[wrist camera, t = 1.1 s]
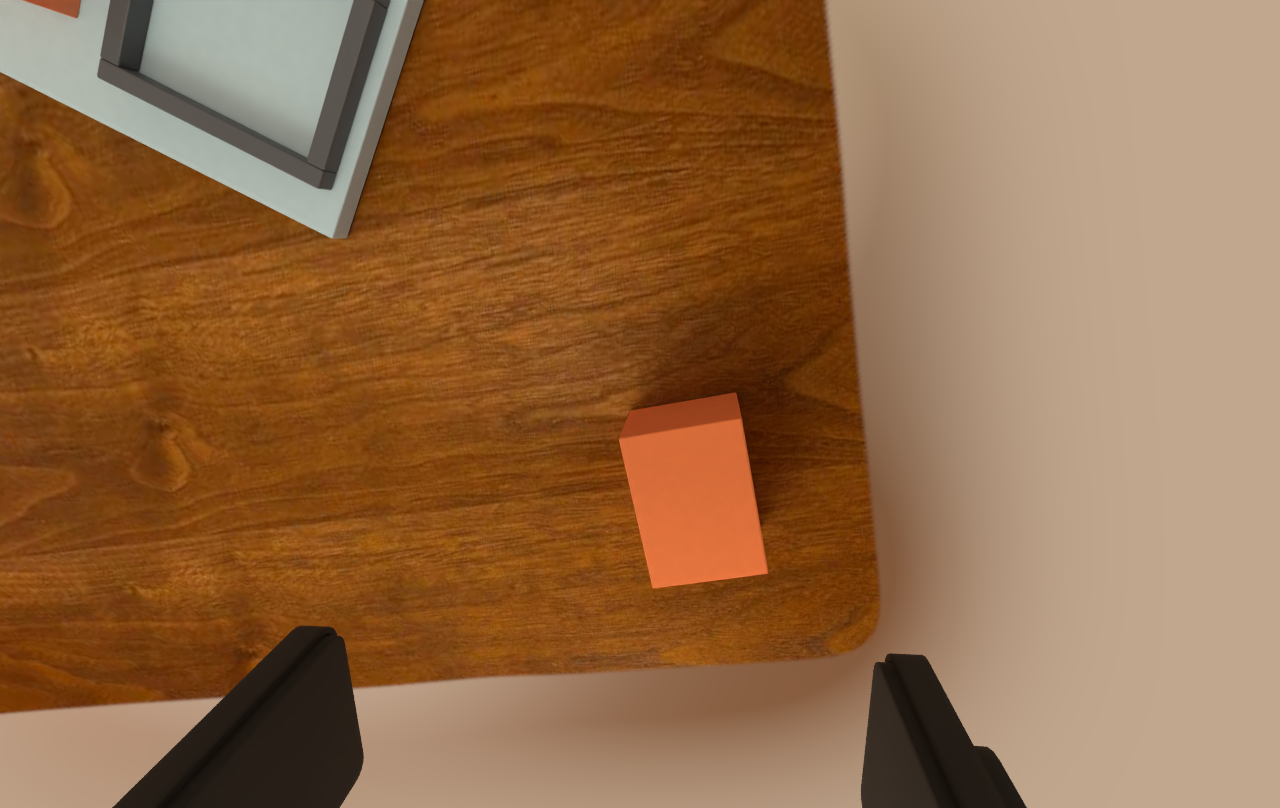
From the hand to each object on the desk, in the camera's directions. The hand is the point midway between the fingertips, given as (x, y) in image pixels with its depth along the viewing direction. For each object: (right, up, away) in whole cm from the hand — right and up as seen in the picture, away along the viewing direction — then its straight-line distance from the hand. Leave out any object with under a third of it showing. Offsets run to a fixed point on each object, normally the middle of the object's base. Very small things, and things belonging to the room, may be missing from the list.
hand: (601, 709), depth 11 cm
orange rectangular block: (+3, +2, +18) cm, 19 cm away
